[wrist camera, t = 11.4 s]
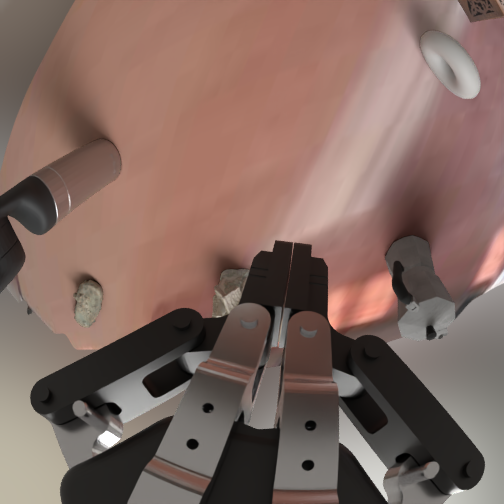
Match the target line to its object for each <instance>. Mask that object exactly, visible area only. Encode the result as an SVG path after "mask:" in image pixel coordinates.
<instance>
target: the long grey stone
mask: <svg viewBox="0 0 504 504" xmlns="http://www.w3.org/2000/svg"><path fill="white" fill-rule="evenodd" d="M73 296H74V298H75V300H76V301H77V304H76V307H75V312H74V313H75V317H74V318H75V319H76V321H77V323H78V324H79V325H81V326H82V327H90V326H91V325H92V324H93V322H95V319H96V317H97V315H98V313H99V311H100V310H101V305H102V304H101V303H102V300H103V291H102V288H101V287H100V285H98V284H97V283H96V282H94V281H92V280H89V281H88V282H87V281H86V280H85V281H83V283H82V284H80V286H79V289H78V291H77V293H74V295H73Z"/></svg>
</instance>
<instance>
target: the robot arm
mask: <svg viewBox="0 0 504 504" xmlns="http://www.w3.org/2000/svg"><path fill="white" fill-rule="evenodd" d="M120 170H121V159H120V155H119V153H118V151H117V149H116V147H115V146H114V145H113V144H112V143H111V142H109V141H108V140H105V139H97V140H95V141H93V142H91V143H89V144H87V145H85V146H82V147H80V148H78V149H76V150H74V151H72V152H70V153H69V154H67V155H65V156H63V157H61V158H59V159H57V160H56V161H54V162H52V163H50V164H48V165H47V166H45V167H43V168H42V169H40V170H38V171H37V172H35V173H34V174H32V175H30V176H29V177H27V178H26V179H24V180H23V181H21V182H20V183H18V184H17V185H16V186H14V187H13V188H11V189H10V190H8V191H7V192H6V193H4V194H3V195H1V196H0V293H1V292H2V291H3V290H4V289H5V287H6V286H7V285H8V284H9V283H10V282H11V281H12V280H13V279H14V277H15V276H16V275H17V274H18V272H19V271H20V269H21V268H22V266H23V264H24V262H25V252H24V250H23V247H22V245H21V243H20V241H19V239H18V238H17V236H16V234H15V232H14V230H13V228H12V226H11V224H10V222H9V220H8V217H7V216H8V215H9V216H11V217H13V218H15V219H16V220H18V221H19V222H20V223H21V224H22V225H23V226H24V227H25V228H26V229H28V230H29V231H30V232H32V233H34V234H36V235H42V234H45V233H46V232H48V231H49V230H50V229H51V228H52V227H53V226H55V225H56V224H57V223H58V222H59V221H61V220H62V219H63V218H64V217H65V216H67V215H68V214H69V213H70V212H72V211H73V210H74V209H75V208H77V207H78V206H79V205H81V204H82V203H83V202H85V201H86V200H87V199H89V198H90V197H91V196H93V195H94V194H95V193H97V192H98V191H100V190H101V189H102V188H104V187H105V186H107V185H108V184H110V183H111V182H112V181H114V180H115V179H116V178H117V177H118V176H119V174H120ZM292 247H293V242H286V241H277V240H276V241H275V244H274V248H273V252H267V251H261V252H259V253H258V254H257V255H256V256H255V257H254V259H253V262H252V265H251V269H250V271H249V274H248V277H247V280H246V283H245V286H244V289H243V292H242V296H241V299H240V302H239V304H238V306H236V307H234V308H233V309H232V310H231V311H230V313H229V314H227V315H225V316H222V317H215V318H202V316H201V315H200V314H199V313H198V312H197V311H195V310H193V309H190V308H180V309H176V310H174V311H172V312H170V313H168V314H166V315H164V316H162V317H161V318H159V319H157V320H155V321H153V322H151V323H149V324H147V325H145V326H144V327H142V328H140V329H138V330H136V331H134V332H132V333H130V334H128V335H126V336H125V337H123V338H121V339H119V340H117V341H115V342H113V343H111V344H109V345H107V346H105V347H103V348H101V349H99V350H98V351H96V352H94V353H92V354H90V355H88V356H86V357H84V358H82V359H80V360H78V361H76V362H74V363H72V364H70V365H68V366H66V367H64V368H62V369H60V370H58V371H56V372H55V373H53V374H50V375H48V376H47V377H44V378H42V379H41V380H39V381H38V382H37V383H36V384H35V385H34V386H33V389H32V391H31V397H30V399H31V404H32V406H33V408H34V410H35V411H36V412H37V413H39V414H40V415H42V416H43V417H45V418H46V419H48V420H49V421H50V423H51V424H52V426H53V429H54V432H55V435H56V438H57V440H58V443H59V446H60V448H61V450H62V453H63V455H64V457H65V460H66V462H67V464H68V466H69V470H68V471H67V473H66V474H65V475H64V477H63V479H62V482H61V487H60V496H61V501H62V504H443V503H444V502H445V501H446V500H447V499H448V498H449V497H450V496H451V495H452V494H455V493H458V492H462V491H465V490H469V489H471V488H473V487H474V486H475V485H477V483H478V482H479V481H480V479H481V478H482V475H483V473H484V468H485V461H484V458H483V456H482V454H481V453H480V451H479V450H478V449H477V448H476V446H475V445H474V444H473V443H472V441H471V440H470V439H469V438H468V437H467V435H466V434H465V433H464V431H463V430H462V429H461V428H460V427H459V426H458V424H457V423H456V422H455V421H454V420H453V418H452V417H451V416H450V415H449V413H447V411H446V410H445V409H444V408H443V406H442V405H441V404H440V403H439V402H438V401H437V400H436V398H435V397H434V396H433V395H432V394H431V393H430V391H429V390H428V389H427V388H426V387H425V386H424V384H423V383H422V382H421V381H420V380H419V379H418V378H417V377H416V375H415V374H414V373H413V372H412V371H411V370H410V369H409V368H408V366H407V365H406V364H405V363H404V362H403V361H402V360H401V359H400V358H399V356H398V355H397V354H396V353H395V352H394V351H393V350H392V349H391V348H390V347H389V346H388V344H387V343H386V342H385V341H384V340H382V339H381V338H379V337H376V336H373V335H364V336H361V337H359V338H357V339H356V340H354V339H351V338H349V337H346V336H344V335H342V334H340V333H338V332H337V331H336V330H334V329H333V327H332V326H331V325H330V323H329V321H328V315H327V314H328V267H327V265H326V263H325V262H324V260H323V258H315V257H311V249H312V245H310V244H302V243H294V249H293V255H292ZM291 256H292V262H291ZM290 264H291V269H290ZM289 273H290V275H289ZM288 280H289V281H288ZM287 287H288V288H287ZM286 293H287V294H286ZM285 299H286V300H285ZM284 305H285V306H284ZM283 311H284V313H283ZM282 316H283V321H282ZM281 322H282V328H281ZM280 328H281V335H280V342H279V347H280V348H284V350H283V355H282V361H281V367H280V378H279V389H278V399H277V409H276V415H275V423H274V428H273V429H255V428H253V427H250V426H248V425H249V422H250V418H251V414H252V410H253V406H254V402H255V400H256V396H257V393H258V390H259V387H260V384H261V381H262V378H263V374H264V371H265V368H266V365H267V361H268V359H269V356H270V351H271V346H272V347H277V344H278V339H279V333H280ZM184 390H186V391H185V394H184V396H183V398H182V400H181V402H180V404H179V406H178V408H177V410H176V413H175V415H173V416H170V417H167V418H164V419H162V420H160V421H158V422H156V423H154V424H153V425H151V426H149V427H148V428H146V429H144V430H142V431H141V432H139V433H137V434H135V435H134V436H132V437H130V438H128V439H126V440H125V441H123V442H121V443H119V444H117V445H115V446H114V447H112V448H110V447H111V446H112V445H113V444H114V443H116V442H117V441H118V440H119V439H120V438H121V436H122V433H123V424H124V423H126V422H128V421H130V420H132V419H134V418H136V417H138V416H140V415H142V414H143V413H145V412H147V411H149V410H151V409H152V408H154V407H156V406H158V405H160V404H161V403H163V402H165V401H167V400H168V399H170V398H172V397H174V396H175V395H177V394H179V393H180V392H182V391H184ZM339 406H340V407H341V409H342V410H343V411H344V413H345V414H346V415H347V417H348V418H349V419H350V421H351V422H352V423H353V425H354V426H355V427H356V428H357V430H358V431H359V432H360V434H361V435H362V436H363V438H364V439H365V440H366V442H367V443H368V444H369V445H370V447H371V448H372V449H373V451H374V452H375V453H376V454H377V456H378V457H379V458H380V460H381V461H382V462H383V463H384V465H385V466H386V467H387V469H388V471H387V472H386V474H385V477H384V480H383V486H384V489H385V491H386V493H387V496H388V503H387V501H386V500H385V498H384V497H383V496H382V495H381V493H380V492H379V490H378V489H377V487H376V486H375V484H374V483H373V482H372V480H371V479H370V477H369V476H368V475H367V473H366V472H365V470H364V469H363V467H362V466H361V465H360V463H359V462H358V460H357V459H356V457H355V456H354V455H353V454H352V452H351V451H349V449H348V448H346V447H345V446H344V445H343V444H341V443H339ZM109 448H110V449H109Z"/></svg>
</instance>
